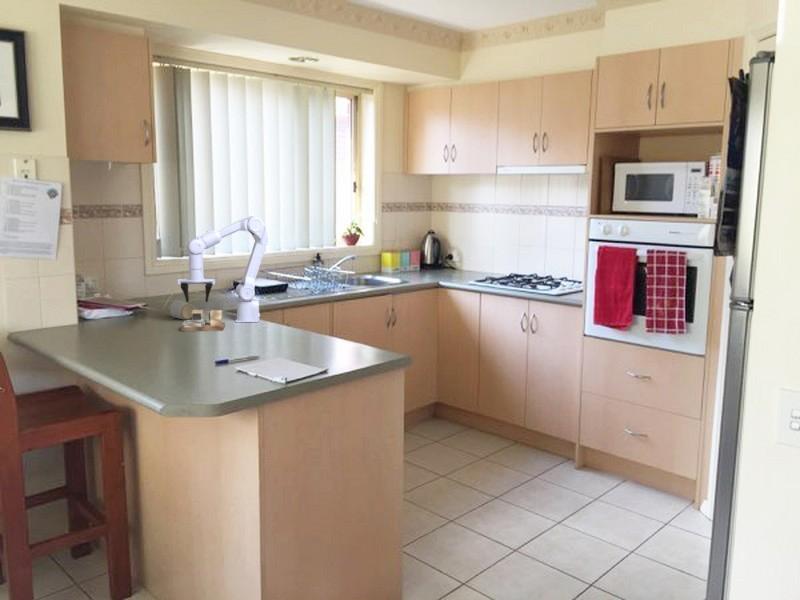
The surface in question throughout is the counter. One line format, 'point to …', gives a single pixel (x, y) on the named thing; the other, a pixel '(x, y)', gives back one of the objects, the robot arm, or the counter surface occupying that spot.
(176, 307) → the ceramic mug
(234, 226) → the robot arm
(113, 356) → the counter surface
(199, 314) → the tan square block
